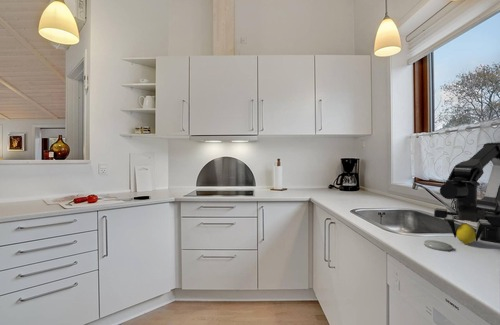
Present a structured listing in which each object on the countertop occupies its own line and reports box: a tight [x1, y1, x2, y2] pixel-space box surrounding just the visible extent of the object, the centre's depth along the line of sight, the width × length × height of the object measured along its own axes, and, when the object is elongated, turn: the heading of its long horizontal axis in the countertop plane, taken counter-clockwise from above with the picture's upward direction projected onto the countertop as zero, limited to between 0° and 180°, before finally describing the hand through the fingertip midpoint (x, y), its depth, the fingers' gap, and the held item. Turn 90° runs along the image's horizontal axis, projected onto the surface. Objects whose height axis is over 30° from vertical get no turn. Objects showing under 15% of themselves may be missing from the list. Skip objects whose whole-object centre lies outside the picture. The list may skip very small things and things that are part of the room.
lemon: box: [455, 222, 476, 245], centre depth 88 cm, size 6×6×8 cm
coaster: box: [423, 239, 453, 252], centre depth 86 cm, size 8×8×1 cm
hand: (465, 238), depth 88 cm, fingers closed on lemon, 5 cm apart
